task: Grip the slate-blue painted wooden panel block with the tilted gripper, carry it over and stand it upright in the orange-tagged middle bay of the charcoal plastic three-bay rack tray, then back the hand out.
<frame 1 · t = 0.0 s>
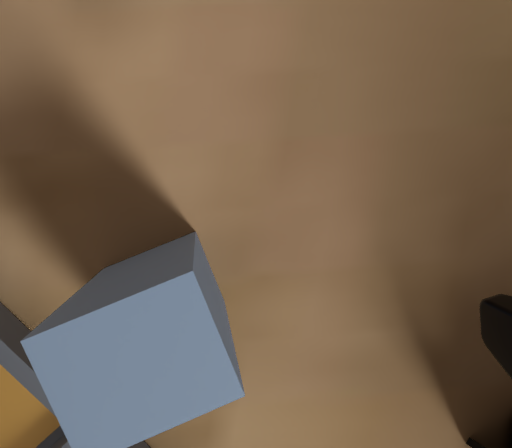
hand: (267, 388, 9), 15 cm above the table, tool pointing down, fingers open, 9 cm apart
panel block: (165, 284, 24), on the table
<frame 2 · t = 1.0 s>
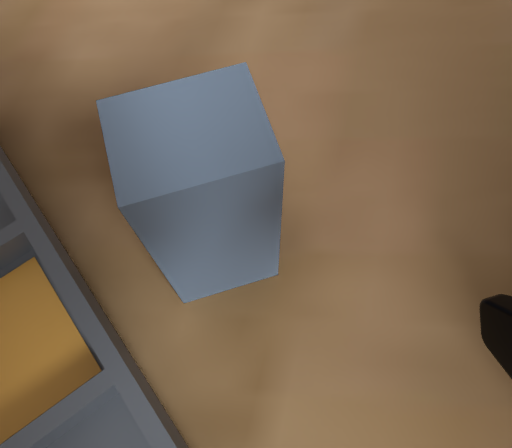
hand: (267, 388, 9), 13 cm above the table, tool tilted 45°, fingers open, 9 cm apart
panel block: (221, 253, 24), on the table
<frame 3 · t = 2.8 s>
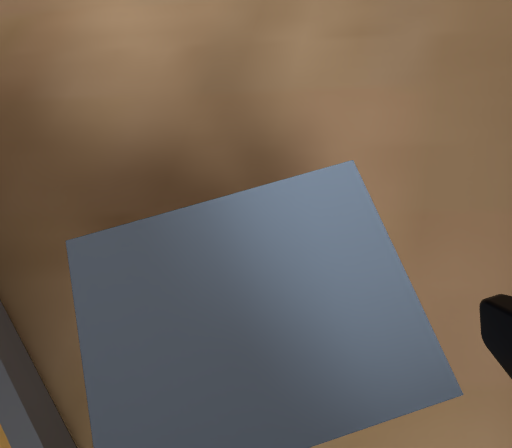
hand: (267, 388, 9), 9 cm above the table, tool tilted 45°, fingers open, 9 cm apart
panel block: (261, 385, 17), on the table
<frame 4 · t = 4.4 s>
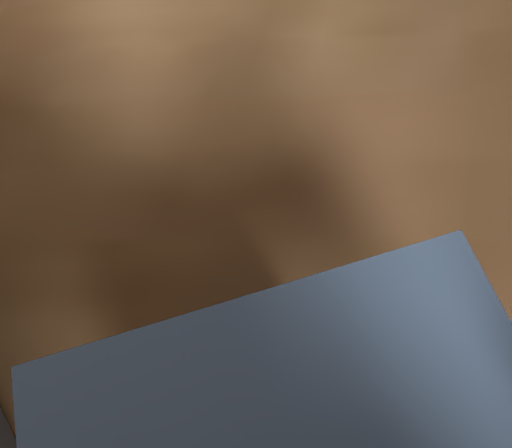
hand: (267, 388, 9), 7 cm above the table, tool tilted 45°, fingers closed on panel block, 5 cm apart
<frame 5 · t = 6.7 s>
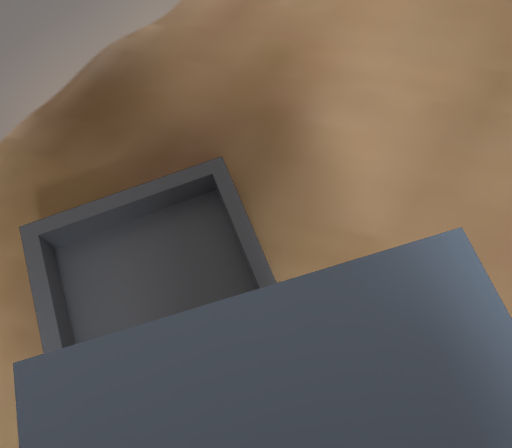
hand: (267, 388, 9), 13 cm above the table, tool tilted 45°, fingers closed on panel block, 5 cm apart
when the fingers open (8 cm above the table, at t = 9.0 s): panel block stays where it is, resting on rack.
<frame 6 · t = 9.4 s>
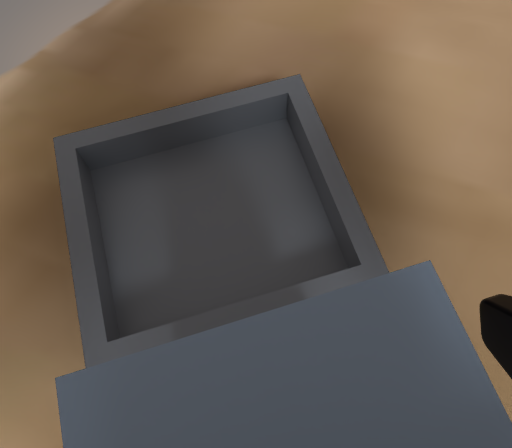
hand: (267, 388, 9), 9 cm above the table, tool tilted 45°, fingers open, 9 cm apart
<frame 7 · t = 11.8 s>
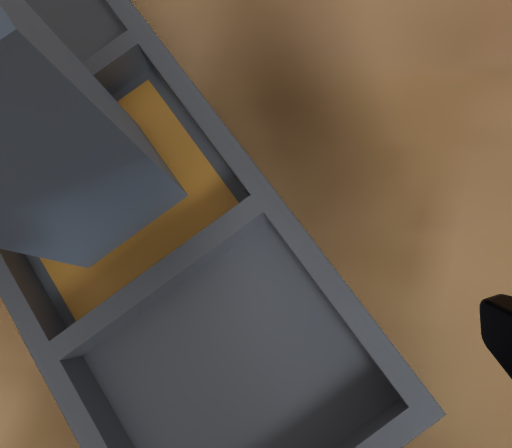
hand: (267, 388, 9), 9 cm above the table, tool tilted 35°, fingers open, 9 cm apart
panel block: (113, 194, 19), point 1 cm above the table, touching rack
rack: (122, 200, 20), on the table
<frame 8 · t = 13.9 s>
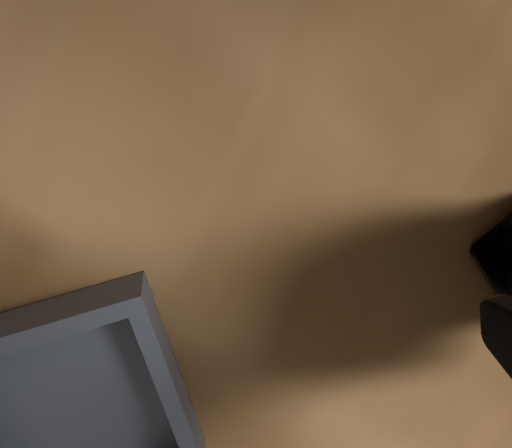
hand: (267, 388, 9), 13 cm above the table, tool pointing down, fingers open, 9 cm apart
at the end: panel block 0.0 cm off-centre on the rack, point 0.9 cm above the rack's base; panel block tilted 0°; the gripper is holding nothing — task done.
